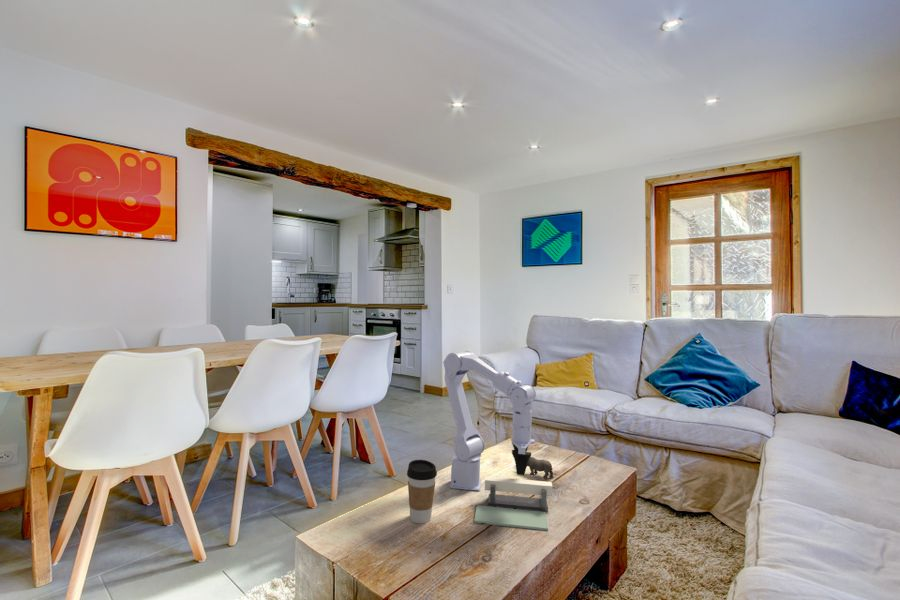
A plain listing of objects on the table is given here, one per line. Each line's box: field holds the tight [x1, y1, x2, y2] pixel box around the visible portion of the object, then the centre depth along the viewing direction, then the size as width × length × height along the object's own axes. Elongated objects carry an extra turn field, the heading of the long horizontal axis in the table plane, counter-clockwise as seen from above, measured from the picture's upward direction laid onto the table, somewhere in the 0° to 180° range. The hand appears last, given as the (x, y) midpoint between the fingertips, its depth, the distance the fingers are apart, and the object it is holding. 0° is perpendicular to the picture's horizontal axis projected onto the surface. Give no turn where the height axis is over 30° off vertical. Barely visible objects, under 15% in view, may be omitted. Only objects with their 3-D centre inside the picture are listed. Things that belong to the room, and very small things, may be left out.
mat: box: [473, 504, 549, 532], centre depth 122 cm, size 20×9×1 cm, turn 82°
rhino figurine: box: [526, 456, 554, 480], centre depth 153 cm, size 4×14×6 cm, turn 60°
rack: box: [487, 485, 549, 513], centre depth 130 cm, size 18×7×6 cm, turn 82°
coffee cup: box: [406, 459, 438, 524], centre depth 120 cm, size 8×8×15 cm
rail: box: [484, 475, 553, 497], centre depth 130 cm, size 20×3×3 cm, turn 82°
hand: (520, 469), depth 131 cm, fingers open, 7 cm apart
